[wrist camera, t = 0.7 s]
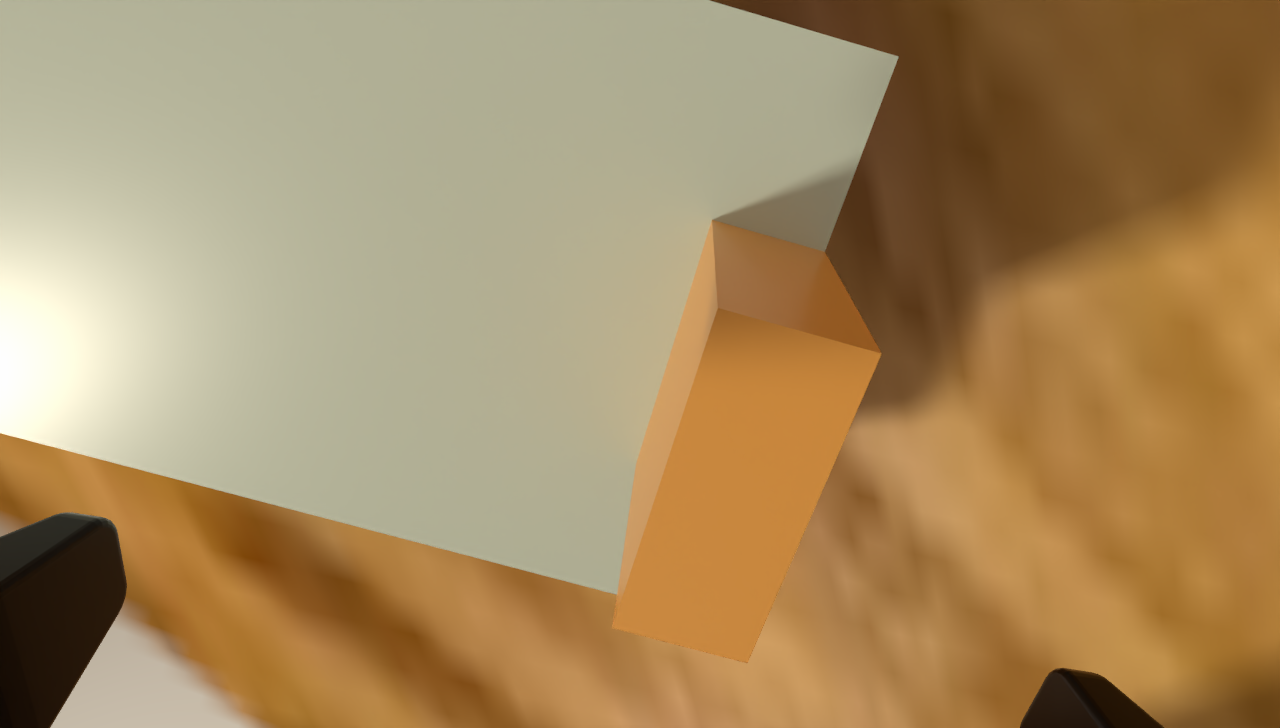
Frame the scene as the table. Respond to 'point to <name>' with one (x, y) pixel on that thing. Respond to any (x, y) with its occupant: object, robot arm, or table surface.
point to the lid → (449, 273)
